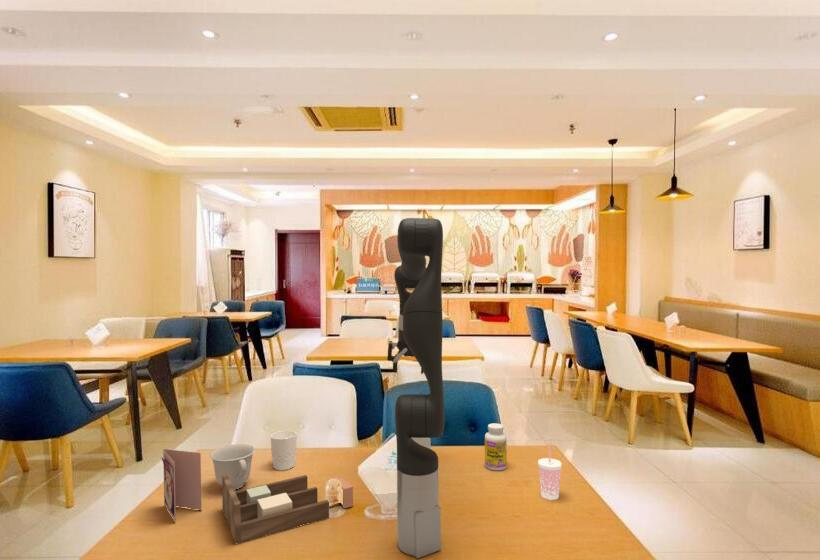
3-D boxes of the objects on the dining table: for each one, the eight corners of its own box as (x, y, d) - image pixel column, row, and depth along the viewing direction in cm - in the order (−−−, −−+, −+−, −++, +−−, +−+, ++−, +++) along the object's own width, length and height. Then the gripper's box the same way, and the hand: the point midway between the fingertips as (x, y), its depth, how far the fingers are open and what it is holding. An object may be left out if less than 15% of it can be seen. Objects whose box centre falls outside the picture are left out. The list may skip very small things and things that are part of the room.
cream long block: (353, 506, 121) (352, 486, 121) (263, 531, 110) (262, 509, 110) (344, 496, 126) (343, 478, 126) (257, 519, 115) (257, 499, 115)
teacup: (221, 505, 123) (221, 467, 123) (204, 485, 134) (204, 450, 134) (266, 491, 130) (265, 455, 130) (246, 473, 142) (246, 440, 142)
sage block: (271, 512, 119) (270, 492, 119) (250, 517, 117) (250, 497, 117) (266, 503, 124) (266, 484, 124) (246, 508, 121) (246, 489, 121)
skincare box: (431, 460, 151) (431, 423, 150) (421, 464, 148) (420, 426, 148) (419, 455, 155) (419, 418, 155) (408, 458, 152) (408, 421, 152)
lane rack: (329, 517, 116) (328, 481, 116) (235, 544, 105) (234, 504, 105) (306, 489, 131) (305, 457, 131) (222, 509, 120) (221, 475, 120)
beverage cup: (561, 502, 122) (561, 449, 122) (537, 499, 124) (537, 446, 124) (562, 492, 128) (561, 441, 128) (538, 489, 130) (538, 438, 130)
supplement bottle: (483, 470, 143) (483, 428, 143) (486, 461, 150) (486, 421, 149) (505, 472, 141) (505, 430, 141) (507, 463, 148) (507, 423, 147)
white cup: (270, 463, 150) (270, 431, 150) (296, 459, 152) (295, 429, 152) (271, 473, 142) (270, 440, 142) (297, 469, 145) (297, 437, 145)
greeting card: (160, 507, 122) (159, 449, 122) (191, 498, 127) (190, 442, 127) (171, 525, 113) (170, 463, 113) (204, 514, 118) (203, 455, 118)
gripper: (386, 330, 146) (386, 377, 151) (432, 331, 146) (430, 378, 151) (388, 321, 154) (388, 366, 158) (432, 322, 153) (430, 367, 158)
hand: (409, 372), depth 154 cm, fingers open, 8 cm apart
